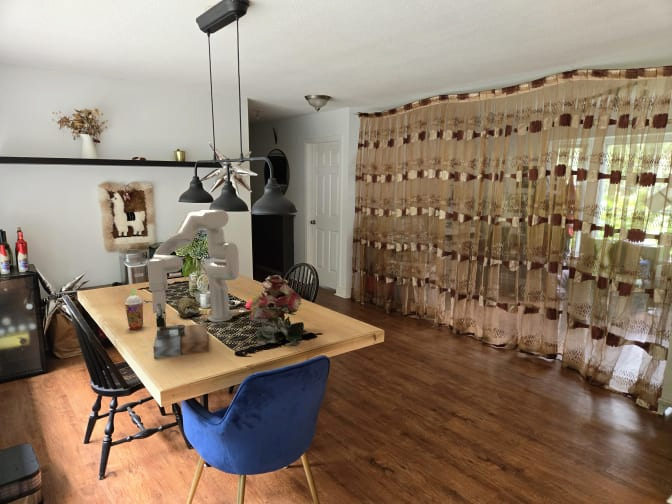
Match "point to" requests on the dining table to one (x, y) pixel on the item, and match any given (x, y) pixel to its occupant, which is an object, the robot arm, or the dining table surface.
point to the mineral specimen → (187, 307)
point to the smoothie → (134, 311)
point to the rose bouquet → (276, 312)
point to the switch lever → (171, 326)
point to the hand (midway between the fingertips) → (161, 323)
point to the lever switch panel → (181, 341)
